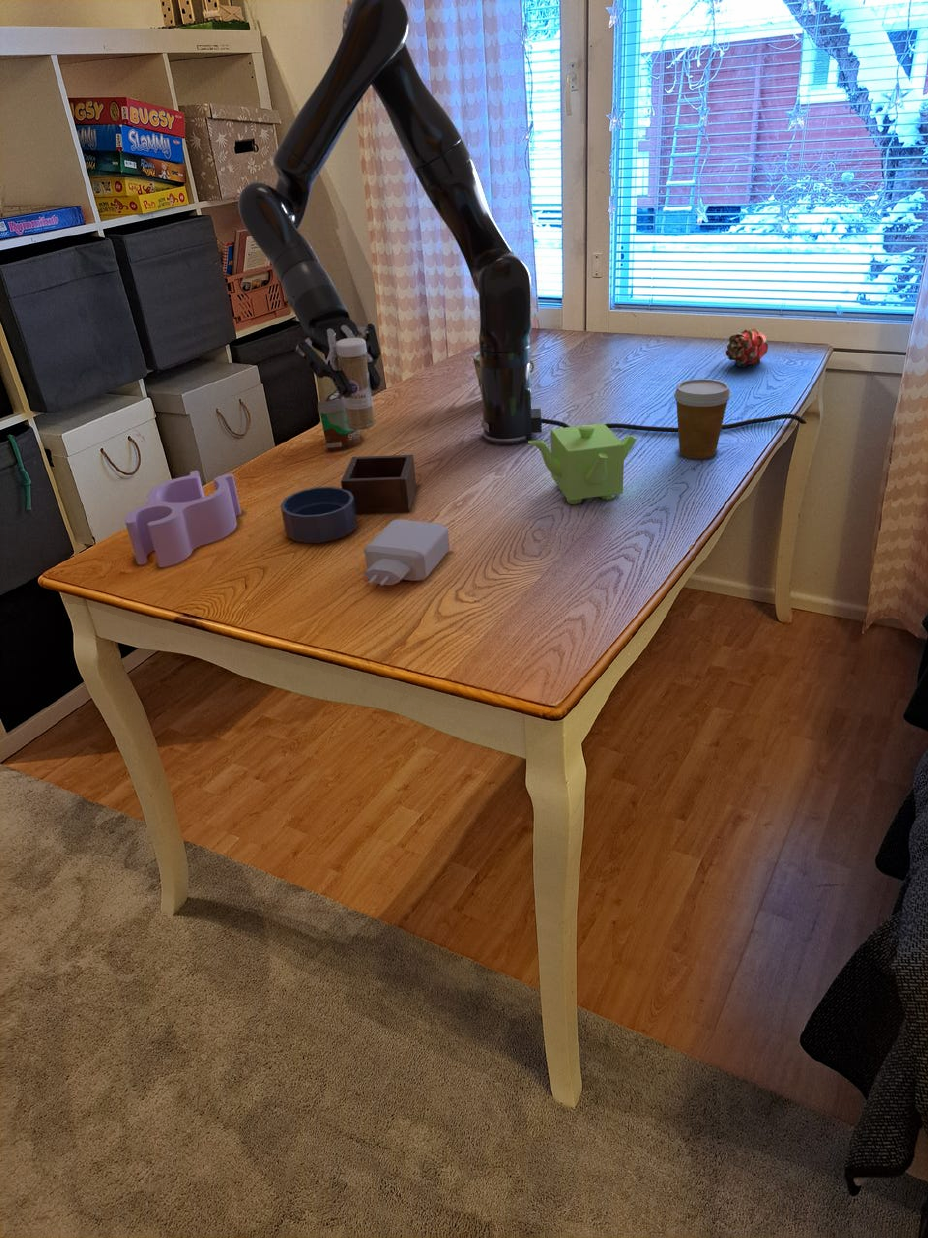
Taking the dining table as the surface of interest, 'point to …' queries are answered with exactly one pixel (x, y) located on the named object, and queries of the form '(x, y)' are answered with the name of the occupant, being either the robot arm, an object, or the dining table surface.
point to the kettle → (586, 461)
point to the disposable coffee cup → (700, 416)
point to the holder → (381, 483)
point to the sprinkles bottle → (356, 382)
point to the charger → (405, 551)
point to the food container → (337, 423)
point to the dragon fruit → (747, 347)
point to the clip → (182, 518)
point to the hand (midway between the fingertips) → (363, 390)
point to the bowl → (319, 514)
